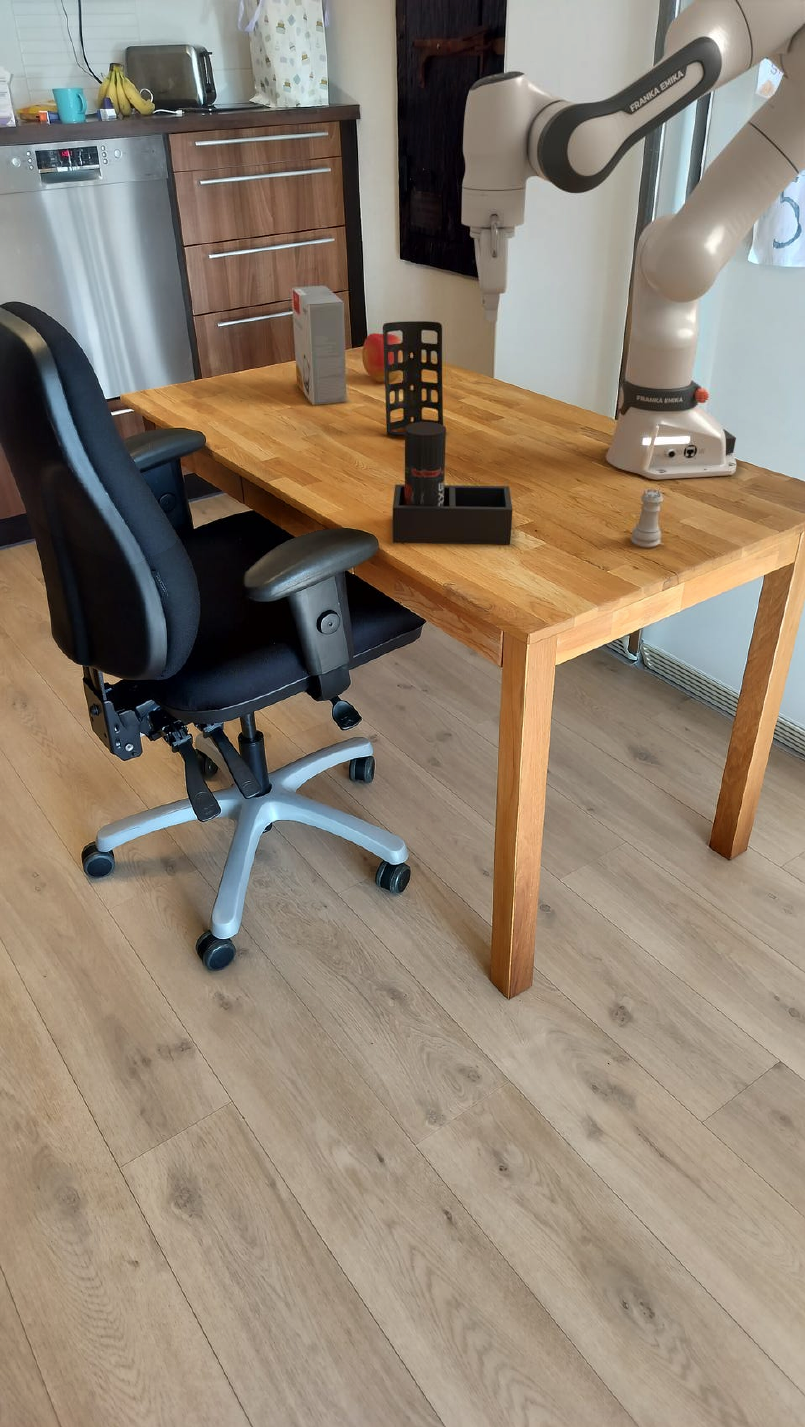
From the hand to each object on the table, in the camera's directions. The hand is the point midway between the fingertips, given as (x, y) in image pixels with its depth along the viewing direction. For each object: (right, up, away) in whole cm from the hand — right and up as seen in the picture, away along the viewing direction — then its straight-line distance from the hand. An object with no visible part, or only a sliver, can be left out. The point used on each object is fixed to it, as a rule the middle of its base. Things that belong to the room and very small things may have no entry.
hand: (489, 313), depth 147 cm
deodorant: (-10, -31, +5) cm, 32 cm away
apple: (-17, +14, +71) cm, 75 cm away
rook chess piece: (+23, -34, +2) cm, 41 cm away
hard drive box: (-30, +8, +63) cm, 71 cm away
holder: (-11, -6, +43) cm, 45 cm away
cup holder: (-5, -31, +5) cm, 32 cm away
